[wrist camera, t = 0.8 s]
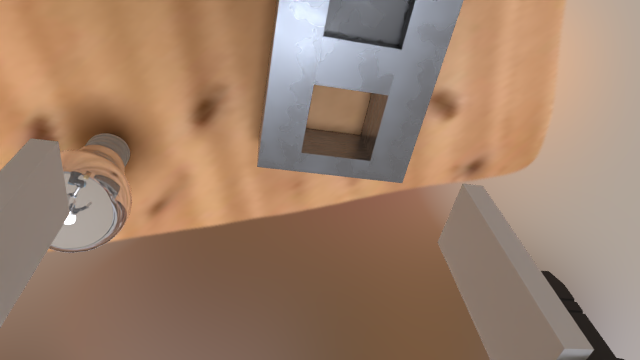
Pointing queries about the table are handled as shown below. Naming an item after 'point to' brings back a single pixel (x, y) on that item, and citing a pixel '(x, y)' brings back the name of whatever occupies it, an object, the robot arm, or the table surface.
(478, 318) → the robot arm
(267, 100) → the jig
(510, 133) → the table surface
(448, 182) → the table surface
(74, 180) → the light bulb
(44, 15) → the table surface
